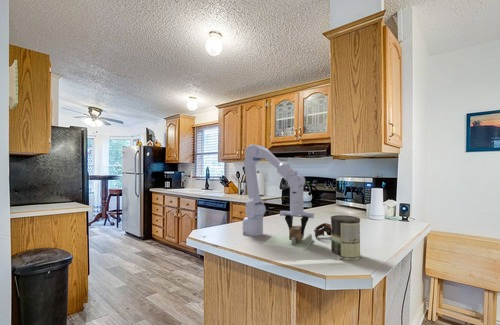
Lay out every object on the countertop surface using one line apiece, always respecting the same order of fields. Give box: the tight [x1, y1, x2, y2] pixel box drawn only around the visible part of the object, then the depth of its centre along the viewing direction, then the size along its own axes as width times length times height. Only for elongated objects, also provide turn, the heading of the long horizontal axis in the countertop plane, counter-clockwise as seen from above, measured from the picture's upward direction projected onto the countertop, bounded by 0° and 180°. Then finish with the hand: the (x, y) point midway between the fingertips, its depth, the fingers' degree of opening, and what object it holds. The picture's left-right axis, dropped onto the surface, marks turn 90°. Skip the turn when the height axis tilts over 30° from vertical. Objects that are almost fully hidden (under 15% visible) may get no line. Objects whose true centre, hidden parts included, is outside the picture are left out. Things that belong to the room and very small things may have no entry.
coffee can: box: [330, 214, 361, 261], centre depth 92 cm, size 10×10×14 cm
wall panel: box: [261, 233, 314, 251], centre depth 106 cm, size 18×18×4 cm
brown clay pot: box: [313, 222, 331, 239], centre depth 116 cm, size 12×10×8 cm
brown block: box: [288, 224, 305, 241], centre depth 107 cm, size 4×8×5 cm, turn 156°
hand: (296, 233), depth 107 cm, fingers closed on brown block, 4 cm apart
